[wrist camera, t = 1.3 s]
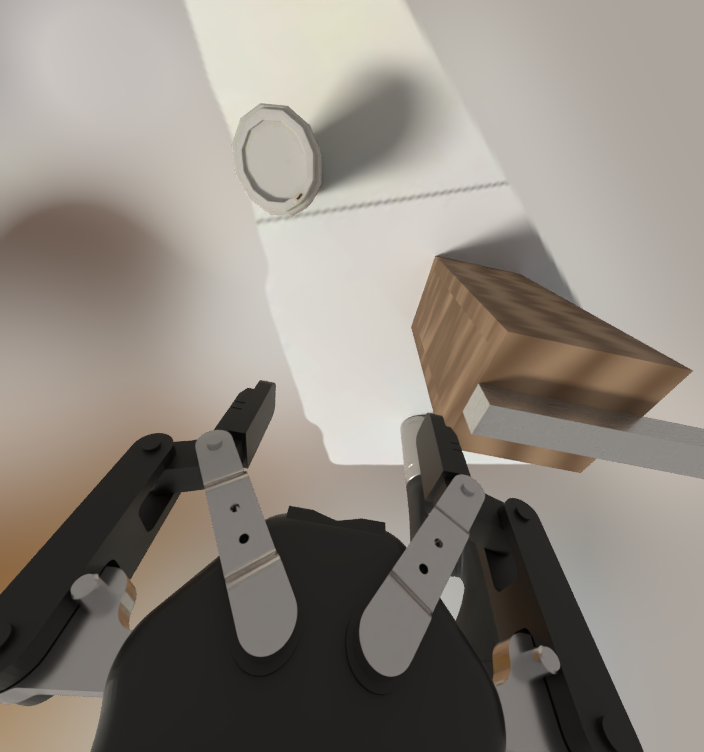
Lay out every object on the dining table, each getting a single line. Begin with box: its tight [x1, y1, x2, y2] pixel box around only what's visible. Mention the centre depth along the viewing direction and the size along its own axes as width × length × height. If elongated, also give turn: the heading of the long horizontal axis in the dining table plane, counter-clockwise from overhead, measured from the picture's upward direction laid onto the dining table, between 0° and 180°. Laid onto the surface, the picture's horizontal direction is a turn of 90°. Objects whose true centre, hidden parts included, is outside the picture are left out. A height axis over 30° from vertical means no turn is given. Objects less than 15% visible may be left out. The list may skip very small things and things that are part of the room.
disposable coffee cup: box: [232, 103, 322, 217], centre depth 36 cm, size 11×11×15 cm
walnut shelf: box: [411, 256, 692, 473], centre depth 39 cm, size 16×14×32 cm
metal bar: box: [463, 384, 704, 479], centre depth 25 cm, size 26×4×3 cm, turn 79°
